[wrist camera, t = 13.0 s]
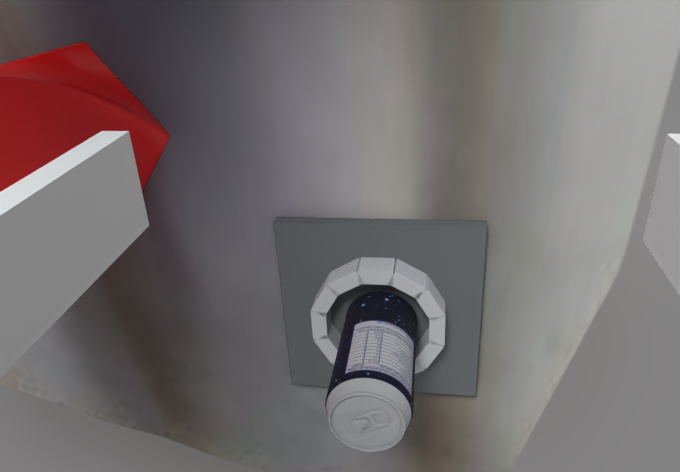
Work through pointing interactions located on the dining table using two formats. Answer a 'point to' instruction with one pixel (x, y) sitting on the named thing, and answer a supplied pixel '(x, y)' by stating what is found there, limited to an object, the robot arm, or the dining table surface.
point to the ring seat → (384, 275)
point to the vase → (68, 112)
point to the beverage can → (374, 373)
